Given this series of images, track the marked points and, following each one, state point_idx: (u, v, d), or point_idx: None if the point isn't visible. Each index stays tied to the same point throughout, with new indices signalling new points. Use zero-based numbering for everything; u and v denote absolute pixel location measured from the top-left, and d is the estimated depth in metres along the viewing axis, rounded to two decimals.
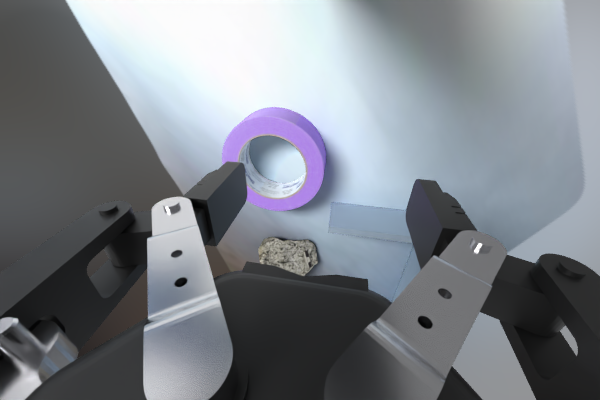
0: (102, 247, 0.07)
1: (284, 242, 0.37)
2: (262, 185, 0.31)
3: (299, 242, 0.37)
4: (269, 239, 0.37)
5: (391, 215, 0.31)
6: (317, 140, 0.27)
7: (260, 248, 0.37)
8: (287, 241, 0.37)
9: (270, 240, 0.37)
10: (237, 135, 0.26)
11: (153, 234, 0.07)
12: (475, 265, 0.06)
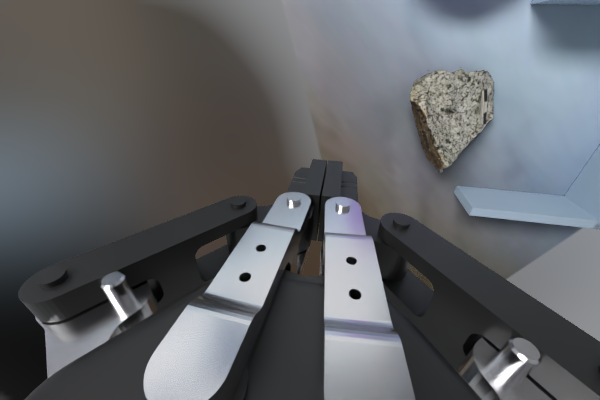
0: (215, 238, 0.08)
1: (453, 75, 0.24)
2: None
3: (477, 74, 0.24)
4: (427, 75, 0.24)
5: None
6: None
7: (415, 89, 0.24)
8: (459, 72, 0.24)
9: (431, 75, 0.24)
10: None
11: (265, 220, 0.08)
12: (349, 225, 0.08)
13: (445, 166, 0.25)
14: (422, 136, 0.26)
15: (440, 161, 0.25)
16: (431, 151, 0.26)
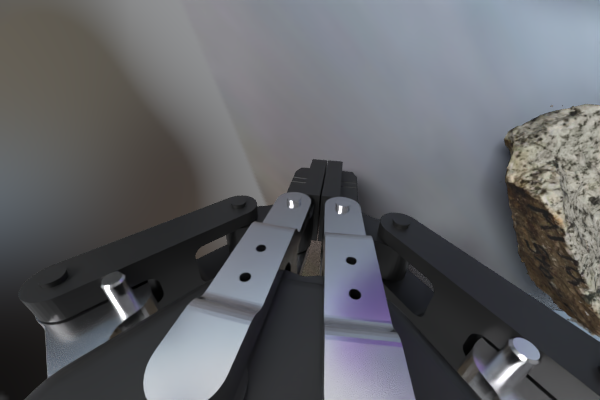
0: (215, 238, 0.08)
1: None
2: None
3: None
4: (549, 118, 0.10)
5: None
6: None
7: (521, 155, 0.10)
8: None
9: (561, 117, 0.10)
10: None
11: (265, 220, 0.08)
12: (349, 225, 0.08)
13: None
14: (531, 251, 0.11)
15: (597, 327, 0.10)
16: (560, 290, 0.11)
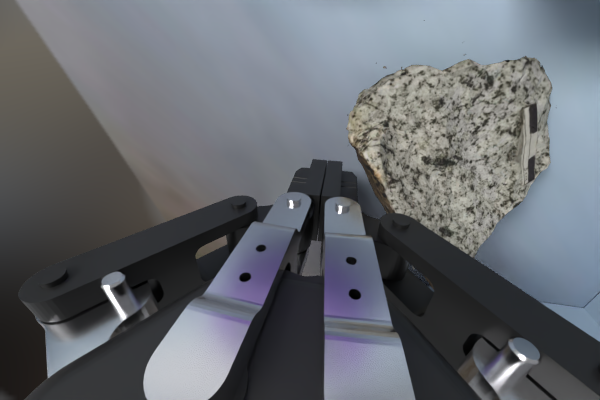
0: (215, 238, 0.08)
1: (448, 76, 0.09)
2: None
3: (510, 67, 0.09)
4: (385, 80, 0.10)
5: None
6: None
7: (356, 116, 0.10)
8: (463, 67, 0.09)
9: (392, 78, 0.10)
10: None
11: (265, 220, 0.08)
12: (349, 225, 0.08)
13: None
14: None
15: (430, 283, 0.10)
16: None
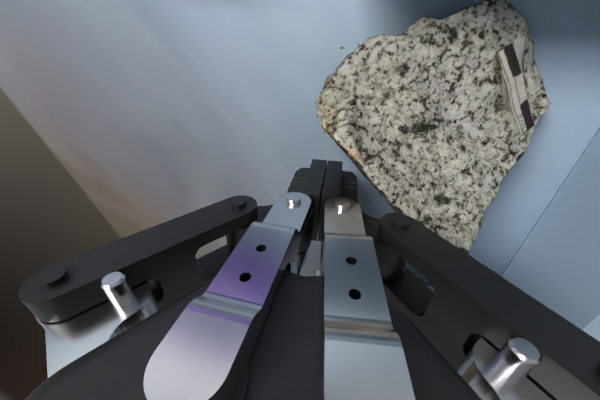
0: (215, 238, 0.08)
1: (407, 40, 0.09)
2: None
3: (471, 14, 0.09)
4: (345, 60, 0.10)
5: None
6: None
7: (322, 101, 0.10)
8: (420, 26, 0.09)
9: (351, 56, 0.10)
10: None
11: (265, 220, 0.08)
12: (349, 225, 0.08)
13: None
14: (381, 194, 0.11)
15: None
16: None
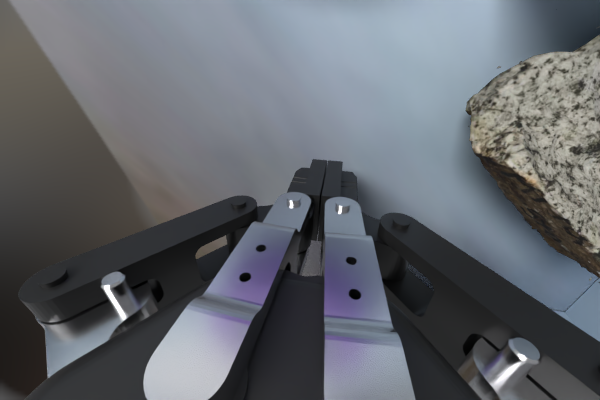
0: (215, 238, 0.08)
1: (583, 56, 0.09)
2: None
3: None
4: (501, 79, 0.09)
5: None
6: None
7: (479, 124, 0.09)
8: None
9: (512, 76, 0.09)
10: None
11: (265, 220, 0.08)
12: (349, 225, 0.08)
13: None
14: (530, 217, 0.11)
15: None
16: (573, 252, 0.10)
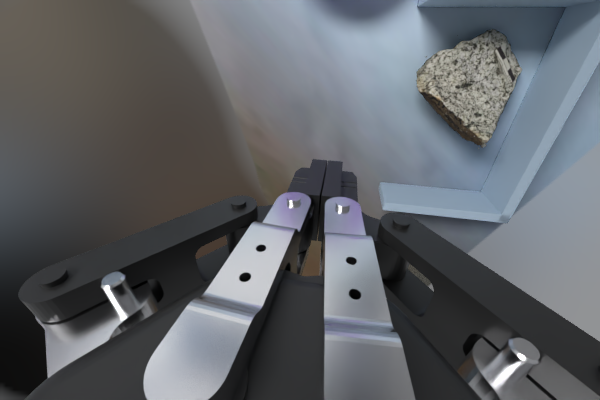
0: (215, 238, 0.08)
1: (455, 50, 0.23)
2: None
3: (481, 37, 0.22)
4: (428, 61, 0.23)
5: None
6: None
7: (420, 80, 0.23)
8: (461, 44, 0.22)
9: (431, 59, 0.23)
10: None
11: (265, 220, 0.08)
12: (349, 225, 0.08)
13: (485, 141, 0.22)
14: (447, 120, 0.24)
15: (477, 138, 0.23)
16: (463, 131, 0.24)
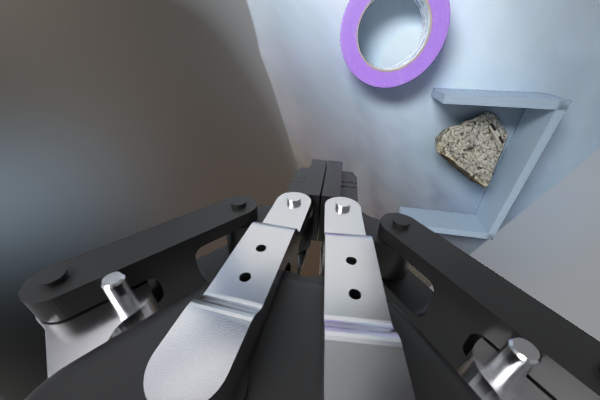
0: (216, 238, 0.08)
1: (462, 126, 0.34)
2: None
3: (479, 117, 0.33)
4: (443, 132, 0.35)
5: (500, 92, 0.31)
6: None
7: (438, 145, 0.35)
8: (465, 122, 0.33)
9: (445, 132, 0.34)
10: None
11: (265, 220, 0.08)
12: (349, 225, 0.08)
13: (485, 186, 0.33)
14: (458, 170, 0.35)
15: (480, 184, 0.34)
16: (470, 178, 0.35)
